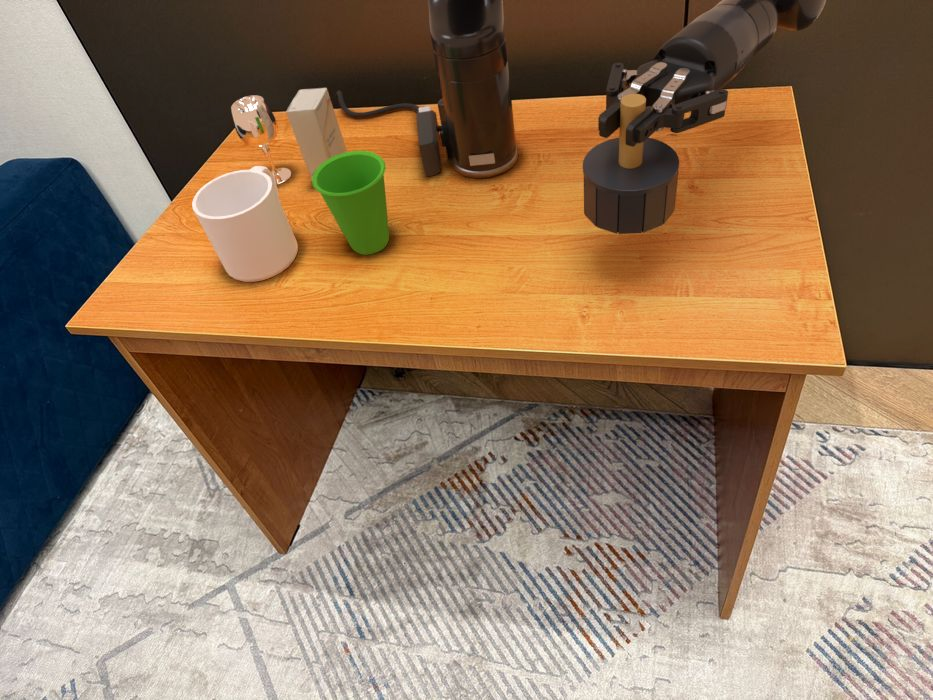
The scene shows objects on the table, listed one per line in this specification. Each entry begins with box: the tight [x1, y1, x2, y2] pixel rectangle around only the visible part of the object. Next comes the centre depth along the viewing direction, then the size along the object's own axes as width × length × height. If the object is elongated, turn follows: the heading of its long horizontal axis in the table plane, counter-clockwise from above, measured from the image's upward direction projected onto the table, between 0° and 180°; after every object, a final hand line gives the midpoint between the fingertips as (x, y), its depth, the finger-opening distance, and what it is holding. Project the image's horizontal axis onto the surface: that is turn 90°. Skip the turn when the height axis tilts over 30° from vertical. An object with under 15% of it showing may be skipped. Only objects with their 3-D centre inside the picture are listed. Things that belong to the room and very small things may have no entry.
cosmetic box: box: [285, 87, 348, 181], centre depth 99 cm, size 6×4×12 cm
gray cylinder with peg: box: [582, 94, 680, 235], centre depth 72 cm, size 10×10×13 cm
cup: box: [311, 150, 390, 256], centre depth 87 cm, size 9×9×11 cm
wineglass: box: [230, 94, 292, 186], centre depth 101 cm, size 6×6×12 cm
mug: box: [191, 165, 299, 283], centre depth 90 cm, size 13×10×10 cm
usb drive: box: [416, 105, 442, 178], centre depth 102 cm, size 5×12×3 cm
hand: (616, 133), depth 67 cm, fingers closed on gray cylinder with peg, 2 cm apart
